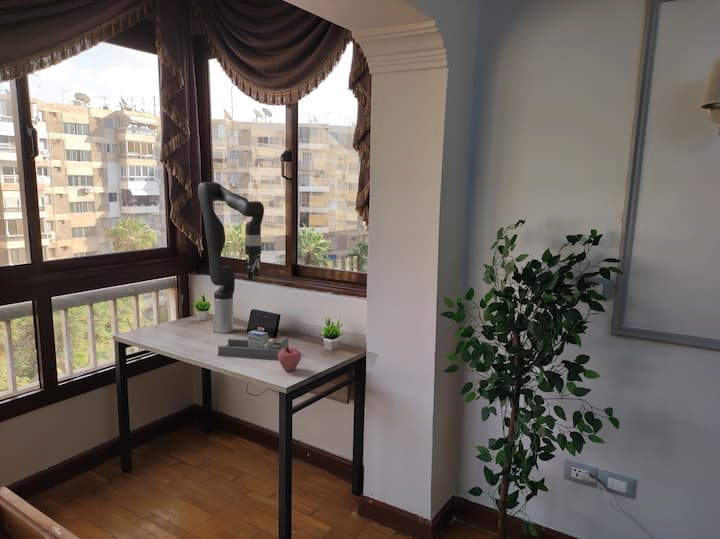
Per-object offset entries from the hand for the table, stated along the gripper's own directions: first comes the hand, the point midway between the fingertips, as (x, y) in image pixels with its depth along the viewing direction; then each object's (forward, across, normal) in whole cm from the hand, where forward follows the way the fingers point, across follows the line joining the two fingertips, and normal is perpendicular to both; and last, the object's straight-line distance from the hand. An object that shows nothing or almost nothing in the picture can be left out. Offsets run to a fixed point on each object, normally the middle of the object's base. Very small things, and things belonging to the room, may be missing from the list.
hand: (253, 278), depth 251 cm
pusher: (+29, +20, +16) cm, 38 cm away
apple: (+30, +38, +28) cm, 56 cm away
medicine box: (+29, +20, +9) cm, 37 cm away
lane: (+30, +20, +7) cm, 37 cm away
